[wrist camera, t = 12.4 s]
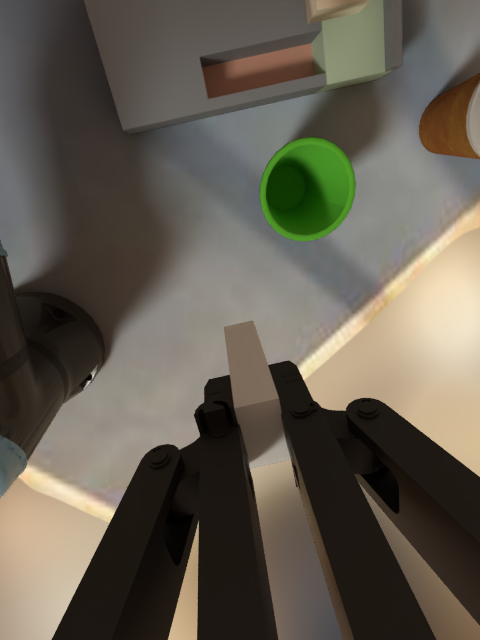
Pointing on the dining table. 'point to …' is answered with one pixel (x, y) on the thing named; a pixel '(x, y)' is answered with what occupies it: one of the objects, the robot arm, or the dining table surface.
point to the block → (332, 9)
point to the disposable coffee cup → (454, 121)
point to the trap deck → (233, 54)
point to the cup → (307, 189)
